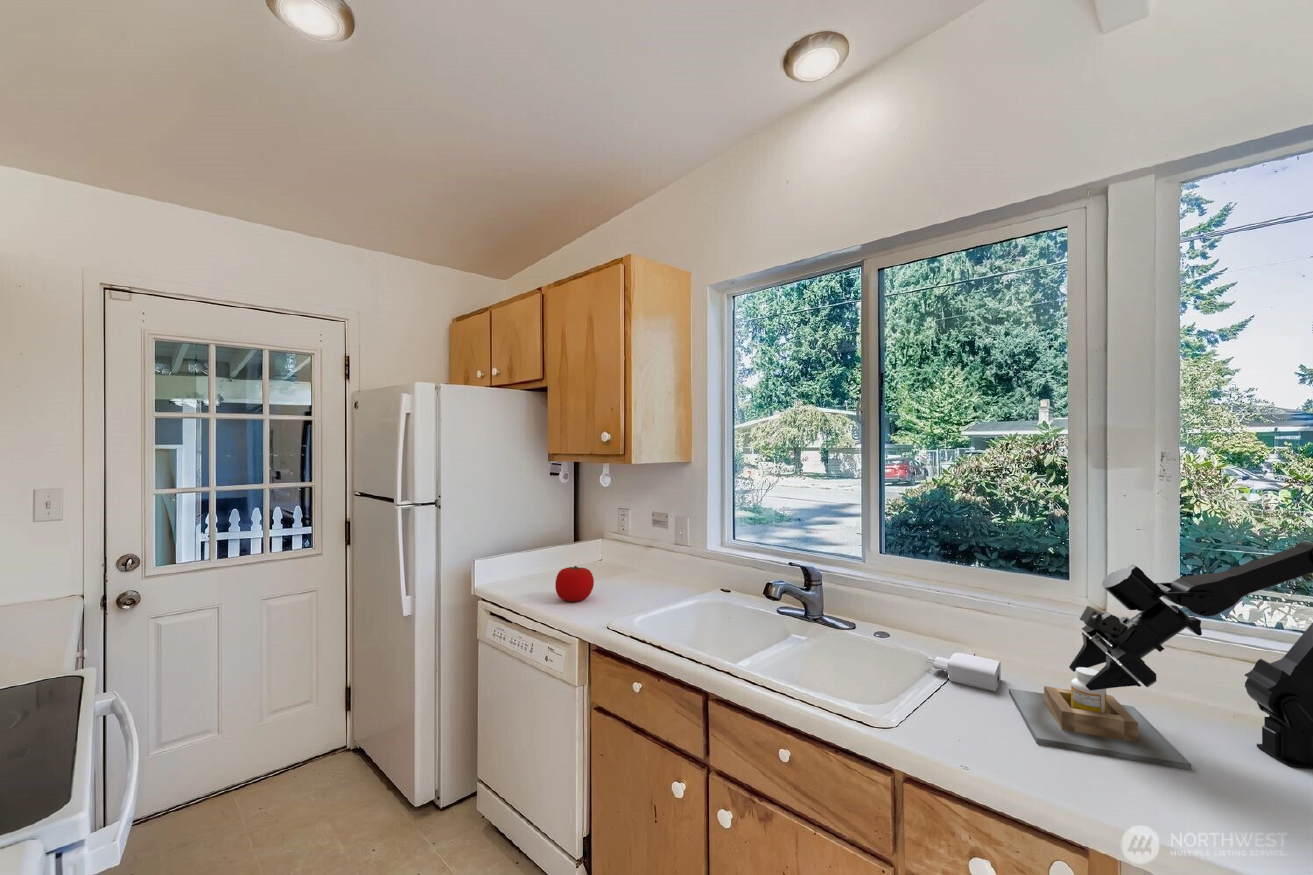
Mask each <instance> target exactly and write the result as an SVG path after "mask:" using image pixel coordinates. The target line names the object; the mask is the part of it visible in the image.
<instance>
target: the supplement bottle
mask: <svg viewBox="0 0 1313 875" xmlns="http://www.w3.org/2000/svg"><path fill="white" fill-rule="evenodd" d="M1099 671H1100V670H1099ZM1099 671H1098V670H1096V669H1094V668H1091V667H1089V668H1084V667H1078V668H1076V671H1075V678H1072V680H1071V682H1070V686H1071V687H1070V688H1071V689H1070V690H1071V708H1073V709H1080V710H1086V711H1093V712H1100V713H1106V695H1107V689H1100V690H1092V691H1091V690H1089V689H1088V688H1087V687H1086V684H1087V683H1088V682H1089V681H1090V680H1091V679H1092V678H1093V677H1094V676H1095V675H1096V674H1097V673H1098V672H1099Z"/></svg>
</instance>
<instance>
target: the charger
mask: <svg viewBox="0 0 1313 875" xmlns="http://www.w3.org/2000/svg"><path fill="white" fill-rule="evenodd" d="M925 662H926V663H929V664H932V665H933V666H932V667H933V669H935V670H938V669H941V670H940V671H943V670H946V671H945V672H947V674H948V675H949V681H950V682H952V683H956V684H961V685H965V686H968V687H973V688H977V689H981V690H985V691H989V692H993V693H994V692H995V693H997V690H998V687H999V685H1000V682H1001V677H1002V676H1001V671H1002V670H1001V664H1002V663H1001V661H1000V660H996V659H990V658H986V657H982V656H977V655H972V654H967V653H964V652H963V653H962V652H955V653H952V655H951V656H950V657H949V658H946V657H941V656H936V657H935V658H934V659H933V658H929V657H927V658H926V660H925Z"/></svg>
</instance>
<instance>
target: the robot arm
mask: <svg viewBox="0 0 1313 875" xmlns="http://www.w3.org/2000/svg"><path fill="white" fill-rule="evenodd" d="M1312 573H1313V542H1310V541H1303V542H1300V543H1297V544H1295V545H1294V546H1293V547H1290V548H1287V549H1284V550H1281V551H1278V552H1276V553H1273V554H1270V555H1267V556H1263V557H1262V558H1259V559H1256V560H1253V561H1251V562H1248V563H1245V564H1242V565H1239V566H1236V567H1233V568H1231V569H1228V570H1225V571H1220V572H1213V573H1212V572H1210V573H1200V574H1199V573H1197V574H1194V575H1189V576H1184V577H1180V578H1179V577H1178V578H1176V579H1174V580H1173V581H1172V582H1154V581H1153V580H1151V578H1149V577H1148V576H1147V575H1146V574H1145V572H1144V571H1143V569H1140V568H1139V567H1138V566H1136V565H1135V564H1131V565H1129V566H1128V567H1127V568H1121V569H1119V570H1117V571H1115V572H1111V573H1110V574H1108V575H1107V576H1105V578H1104V579H1103V580H1102V583H1101V586H1102V588H1104V590H1106V591H1107V592H1108V593H1109V594H1110V595H1112V597H1113V598H1115V599H1116V600H1117V601H1118V602H1119V603H1120V604H1121V605H1123V606H1124V607H1125V608H1126V609H1127V610H1129V611H1137V612H1138V613H1137V614H1136V615H1134V616H1133V617H1131V619H1130V618H1129V617H1128V616H1122V617H1120V618H1119V617H1118V616H1117V615H1113V614H1112V613H1110V612H1106V613H1104V612H1102V611H1100V610H1098V609H1096V608H1093V607H1092V606H1089V605H1087V606H1086V607H1085V609H1084V611H1083V612H1082V614H1081V616H1080V617H1079V621H1082V622H1084V626H1083V627H1082V628H1081V630H1083V632H1082V631H1081V635H1082V641H1083V645H1082V646H1081V648H1080V650H1079V652H1078V653H1077V655H1076V656H1075V657H1074V659H1073V660H1072V662H1071V663H1070V665H1069V666H1068V667H1069V670H1071V672H1075V673H1076V668H1078V667H1084V668H1092V667H1095V666H1098V665H1100V664H1101V665H1102V664H1104V663H1105V665H1104V666H1103V667H1102V668H1101V669H1100V670H1099V672H1098V673H1097V674H1096V675H1095V676H1094V677H1093V678H1092V679H1091V680H1090V681H1089V682H1088V683H1087V684H1086V687H1087V688H1088V689H1089V690H1091V691H1092V690H1100V689H1106V690H1107V689H1113V688H1114V689H1115V688H1123V687H1124V688H1125V687H1136V686H1137V687H1138V688H1139V687H1142V685H1141V684H1143V685H1144V686H1145V687H1146V688H1149V687H1151V686H1152V685H1153V684H1155V683H1156V682H1157V673H1156V672H1155V671H1154V670H1152V668H1150V667H1149V666H1148V665H1147V664H1146V662H1145V661H1144V660H1143V658H1145V657H1146V656H1148V655H1150V653H1152V652H1153V651H1155V650H1156V651H1158V652H1159V653H1161V652H1162V651H1163V650H1165V647H1163V646H1162V645H1164V644H1165V643H1166V642H1167V641H1169V640H1170V639H1172V638H1173V637H1175V636H1176V635H1178V634H1179V633H1181V632H1183V630H1185V629H1187V630H1188V631H1190V632H1192V633H1193V634H1195V635H1197V636H1202V635H1203V632H1202V627H1201V624H1202V620H1201V619H1199V618H1197V617H1195V616H1189V615H1188V614H1186V613H1185V612H1184V611H1183V610H1182V609H1181V608H1180V607H1182V608H1184V609H1186V610H1187V611H1189V612H1191V613H1193V614H1194V615H1195V614H1196V615H1198V616H1202V617H1213V616H1217V615H1220V614H1221V613H1222V612H1224V611H1226V610H1229V609H1230V608H1232V607H1234V606H1235V605H1236V604H1237V603H1238V602H1239V601H1240V600H1241V599H1243V598H1244V597H1246V596H1247V595H1249V594H1253V593H1255V592H1258V591H1261V590H1264V589H1267V588H1270V587H1273V586H1276V585H1279V584H1282V583H1285V582H1287V581H1292V580H1295V579H1297V578H1300V577H1302V576H1306V575H1309V574H1312ZM1161 598H1164V599H1166V600H1167V601H1169V602H1171V603H1172V604H1170V605H1169V604H1167V603H1166V602H1165V601H1164V600H1162V599H1161ZM1174 604H1175V605H1174ZM1177 605H1178V606H1180V607H1178V606H1177ZM1084 632H1085V633H1086V634H1085V633H1084ZM1113 658H1114V659H1115V660H1114V659H1113ZM1244 676H1245V677H1246V680H1245V682H1244V687H1245V690H1246V693H1247V694H1248V696H1249V697H1250V698H1251V699H1252V700H1253V701H1255V702H1256V704H1257V706H1258V708H1259V710H1260V711H1262V712H1264V713H1266V714H1267V715H1268V716H1264V717H1263V718H1264V720H1263V721H1264V725H1262V727H1261V728H1262V729H1261V743H1256V748H1259V750H1261V751H1263V752H1265V753H1267V754H1268V755H1269V756H1272V757H1273V758H1275V759H1276V760H1278V761H1280V762H1282V763H1284V764H1285V765H1286V766H1288V767H1293V768H1306V769H1313V622H1312V623H1311V624H1309V626H1308V627H1307V629H1306V630H1305V631H1304V632H1303V633H1302V635H1301V636H1299V638H1298V639H1297V641H1296V642H1295V643H1294V644H1293V645H1292V646H1291V648H1290V649H1288V651H1287V652H1286V653H1285V655H1283V657H1281V658H1280V659H1278V660H1276V661H1273V662H1268V661H1266V660H1264V659H1262V658H1259V659H1258V660H1257V661H1256V663H1255V664H1254V666H1253V668H1252V669H1251V670H1250V671H1248V672H1247V673H1245V674H1244ZM1139 682H1140V683H1141V684H1140V683H1139Z"/></svg>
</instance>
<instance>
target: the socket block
mask: <svg viewBox="0 0 1313 875" xmlns="http://www.w3.org/2000/svg"><path fill="white" fill-rule="evenodd" d="M1008 694H1009V696H1010V698H1011V699H1012V701H1013V703H1014V706H1015V707H1016V709H1017V711H1018V712H1019V714H1020V715H1021V717H1022V720H1023V721H1024V723H1025V725H1026V727H1027V729H1028V730H1029V732H1030V734H1031V736H1032V738H1033V739H1034V741H1035V743H1036V744H1037V745H1038V744H1039V745H1045V746H1050V747H1055V748H1056V747H1057V748H1061V749H1066V750H1074V751H1078V752H1083V753H1084V752H1085V753H1090V754H1091V753H1092V754H1097V755H1100V756H1101V755H1103V756H1108V757H1113V758H1114V757H1115V758H1118V759H1125V760H1130V761H1136V762H1143V763H1148V764H1154V765H1161V766H1166V767H1171V768H1177V769H1183V770H1189V771H1191V770H1192V764H1191V763H1190V761H1189V760H1188V759H1187V758H1186V757H1185V756H1183V755H1182V753H1180V751H1179V750H1177V748H1175V746H1174V745H1173V744H1171V742H1170V741H1169V740H1168V739H1166V737H1164V735H1163V734H1162V733H1160V731H1158V730H1157V728H1155V726H1153V724H1152V723H1151V722H1149V720H1148V719H1147V718H1145V716H1144V715H1143V714H1141V712H1139V710H1138V709H1137V708H1136V707H1135V706H1133V705H1125V704H1121V703H1120V702H1119V701H1118V700H1117V699H1116V698H1115V697H1114V696H1113V695H1110V694H1106V713H1100V712H1093V711H1086V710H1080V709H1073V708H1071V689H1067V688H1060V687H1053V686H1045V685H1043V693H1042V692H1036V691H1029V690H1023V689H1015V688H1008Z"/></svg>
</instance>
